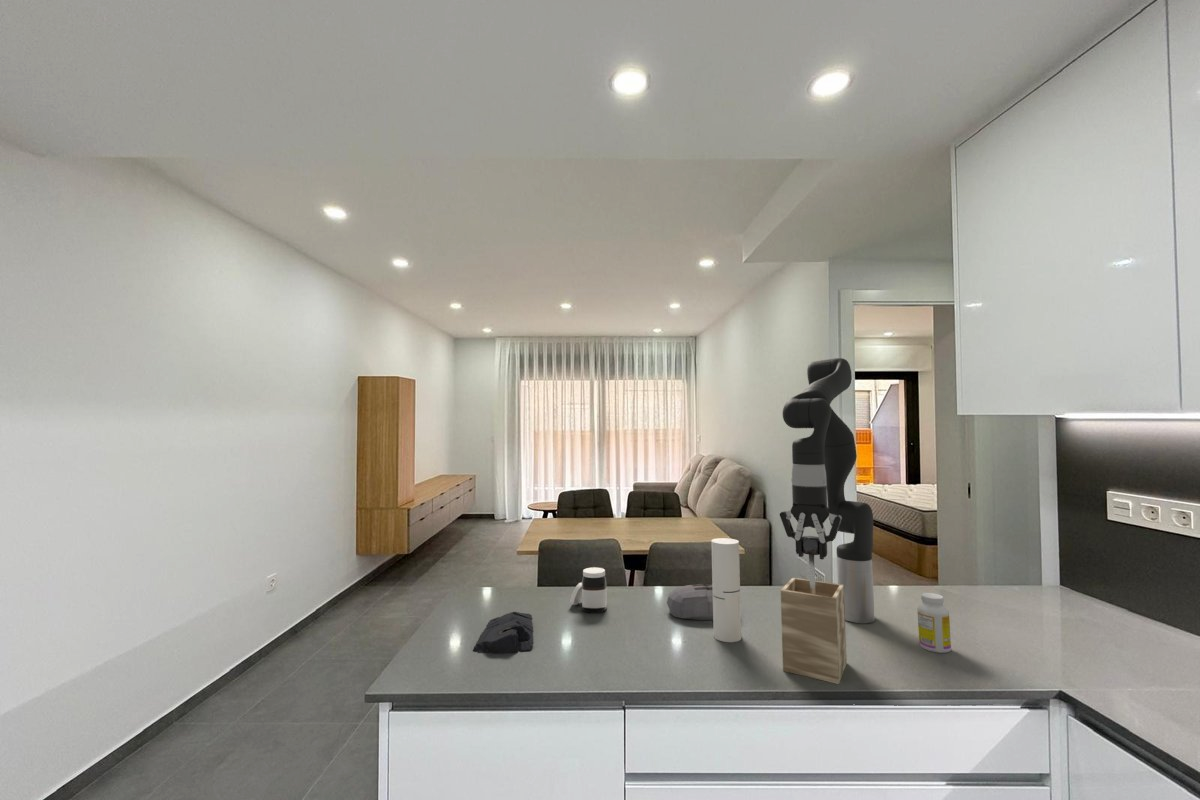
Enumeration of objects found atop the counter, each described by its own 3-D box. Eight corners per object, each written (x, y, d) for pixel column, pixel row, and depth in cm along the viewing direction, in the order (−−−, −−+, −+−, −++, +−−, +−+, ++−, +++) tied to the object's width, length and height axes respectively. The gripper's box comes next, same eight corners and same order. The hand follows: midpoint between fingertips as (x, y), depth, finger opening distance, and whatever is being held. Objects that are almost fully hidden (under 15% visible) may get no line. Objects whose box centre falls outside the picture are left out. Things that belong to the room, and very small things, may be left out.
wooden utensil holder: (794, 651, 126) (792, 577, 127) (846, 663, 120) (843, 584, 121) (783, 670, 117) (780, 590, 118) (838, 684, 110) (835, 598, 111)
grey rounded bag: (725, 604, 162) (662, 605, 161) (725, 577, 162) (662, 578, 161) (741, 622, 147) (671, 624, 146) (740, 592, 147) (671, 594, 146)
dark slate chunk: (540, 621, 150) (539, 604, 150) (531, 655, 128) (531, 635, 128) (487, 622, 149) (487, 606, 149) (469, 656, 127) (469, 636, 128)
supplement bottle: (946, 644, 130) (943, 592, 130) (954, 655, 123) (952, 601, 124) (916, 641, 132) (913, 590, 132) (922, 652, 126) (920, 598, 126)
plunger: (798, 624, 125) (795, 532, 126) (838, 632, 120) (834, 536, 121) (789, 637, 118) (786, 539, 119) (831, 645, 113) (827, 543, 114)
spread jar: (606, 614, 153) (606, 574, 154) (569, 614, 153) (568, 575, 154) (606, 601, 165) (606, 564, 166) (571, 601, 165) (571, 564, 166)
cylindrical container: (742, 643, 132) (739, 544, 133) (713, 641, 133) (711, 543, 135) (740, 632, 139) (738, 538, 140) (713, 630, 140) (711, 537, 142)
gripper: (844, 483, 120) (847, 558, 119) (782, 480, 128) (784, 550, 127) (839, 486, 114) (842, 565, 113) (773, 483, 122) (776, 557, 121)
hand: (811, 557), depth 120 cm, fingers closed on plunger, 4 cm apart
